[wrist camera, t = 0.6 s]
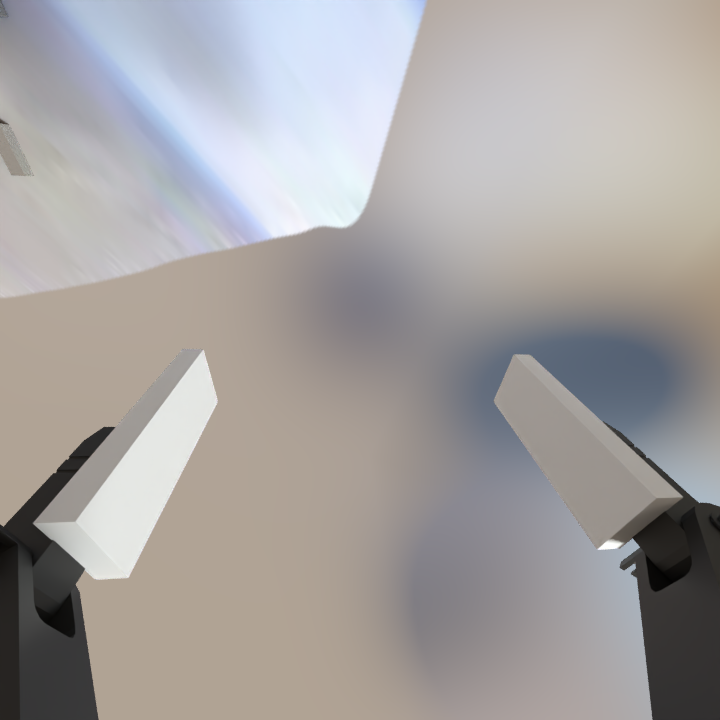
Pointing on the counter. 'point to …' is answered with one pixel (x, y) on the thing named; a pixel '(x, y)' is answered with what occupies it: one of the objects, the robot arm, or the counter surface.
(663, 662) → the robot arm
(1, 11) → the coaster
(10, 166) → the crook tool
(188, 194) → the counter surface
